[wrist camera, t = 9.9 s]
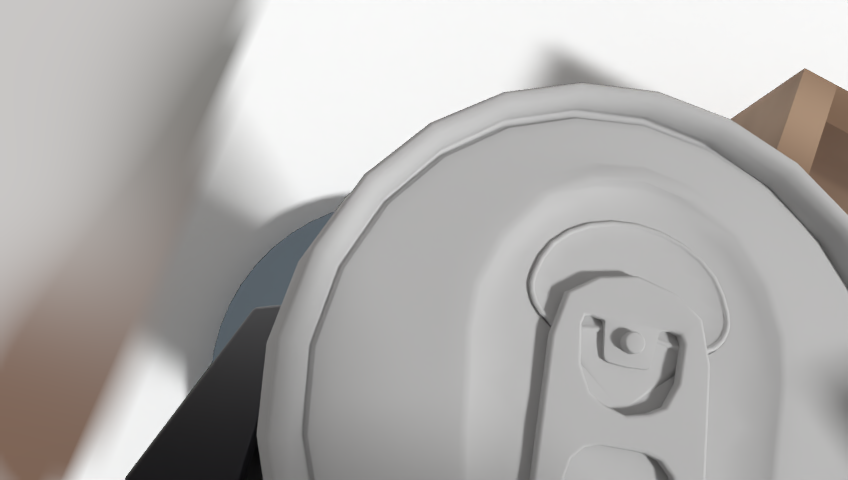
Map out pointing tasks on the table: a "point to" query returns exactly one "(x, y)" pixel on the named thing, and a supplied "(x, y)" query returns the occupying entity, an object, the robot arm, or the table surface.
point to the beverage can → (567, 305)
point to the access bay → (806, 129)
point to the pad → (268, 279)
